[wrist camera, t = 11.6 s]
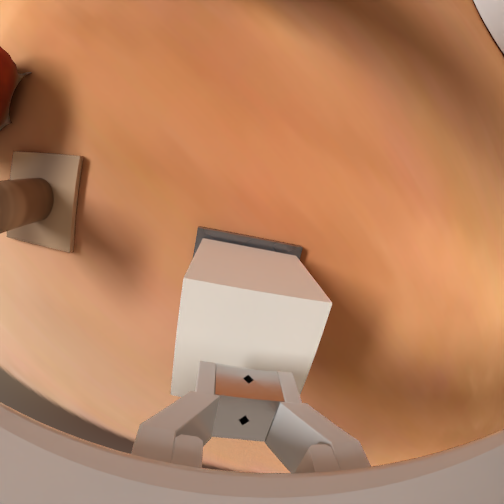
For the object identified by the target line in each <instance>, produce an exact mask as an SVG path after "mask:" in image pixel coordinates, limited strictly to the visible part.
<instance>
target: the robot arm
mask: <svg viewBox="0 0 504 504" xmlns="http://www.w3.org/2000/svg"><path fill="white" fill-rule="evenodd" d="M473 1H474V3H475V5H476V7H477V9H478V11H479V13H480V15H481V17H482V19H483V21H484V23H485V25H486V26H487V28H488V30H489V31H490V33H491V35H492V36H493V38H494V40H495V41H496V43H497V44H498V46H499V47H500V49H501V50H502V52H503V54H504V0H473ZM211 437H221V438H233V439H243V440H253V441H265V443H266V445H267V446H268V447H269V448H270V449H271V451H272V452H273V453H274V454H275V455H276V456H277V458H278V459H279V460H280V461H281V462H282V463H283V464H284V466H285V467H286V468H287V469H288V470H289V471H290V472H291V473H251V472H235V471H224V470H214V469H206V468H202V452H203V446H204V445H205V444H206V443H207V442H208V441H209V440H210V439H211ZM0 504H504V429H502V430H500V431H497V432H495V433H493V434H490V435H488V436H485V437H483V438H480V439H477V440H474V441H472V442H469V443H466V444H463V445H460V446H457V447H454V448H451V449H447V450H444V451H441V452H437V453H433V454H430V455H426V456H422V457H418V458H414V459H409V460H405V461H400V462H395V463H390V464H385V465H379V466H372V467H371V465H370V463H369V461H368V459H367V457H366V454H365V452H364V450H363V448H362V446H361V444H360V442H359V441H358V440H357V439H355V438H354V437H352V436H351V435H349V434H348V433H347V432H345V431H344V430H342V429H341V428H339V427H338V426H337V425H335V424H334V423H333V422H331V421H330V420H328V419H327V418H326V417H324V416H323V415H322V414H320V413H319V412H318V411H316V410H315V409H314V408H312V407H311V406H310V405H308V404H307V403H302V400H301V397H300V394H299V391H298V388H297V385H296V382H295V379H294V376H293V374H292V373H291V372H281V371H266V370H256V369H247V368H243V367H236V366H230V365H224V364H218V363H213V362H206V361H201V360H200V362H199V368H198V375H197V382H196V388H195V391H190V392H188V393H187V394H186V395H184V396H183V397H181V398H180V399H178V400H177V401H175V402H174V403H172V404H171V405H169V406H168V407H166V408H165V409H163V410H162V411H160V412H159V413H157V414H155V415H154V416H152V417H151V418H149V419H148V420H146V421H144V422H143V423H141V424H140V426H139V429H138V433H137V436H136V439H135V442H134V446H133V449H132V452H131V454H128V453H124V452H121V451H117V450H114V449H111V448H107V447H104V446H101V445H98V444H95V443H92V442H89V441H86V440H83V439H80V438H78V437H75V436H72V435H69V434H67V433H64V432H61V431H59V430H57V429H54V428H52V427H50V426H47V425H45V424H43V423H41V422H38V421H36V420H34V419H32V418H30V417H28V416H26V415H24V414H22V413H20V412H18V411H16V410H14V409H12V408H10V407H8V406H6V405H4V404H3V403H1V402H0Z"/></svg>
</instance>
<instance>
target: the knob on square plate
mask: <svg viewBox="0 0 504 504" xmlns="http://www.w3.org/2000/svg"><path fill="white" fill-rule="evenodd" d="M83 157H84V156H73V155H62V154H50V153H35V152H18V151H14V152H13V158H12V166H11V174H10V180H4V181H0V233H3V232H6V231H7V237H9V238H13V239H16V240H20V241H24V242H28V243H32V244H36V245H40V246H44V247H48V248H52V249H57V250H61V251H65V252H69V253H70V252H72V251H74V233H75V220H76V209H77V199H78V191H79V183H80V176H81V170H82V163H83Z"/></svg>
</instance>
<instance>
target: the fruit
mask: <svg viewBox="0 0 504 504" xmlns="http://www.w3.org/2000/svg"><path fill="white" fill-rule="evenodd" d="M30 73H32V72H28V73H23V74H19V73H18V72H17V68H16V65H15V63H14V62H13V60H12V59H11V57H10V55H9V54H8V53H7V52H6V51H5V50H4V49H2V48H1V47H0V130H1V129H2V128H3V127H4V126H6V125H8V124H9V123H12V122H11V121H10V117H9V107H10V101H11V98H12V95H13V92H14V90H15V88H16V86H17V85H18V83H19V82H20V80H21V79H22V78H23V77H24V76H25V75H27V74H30Z"/></svg>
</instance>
